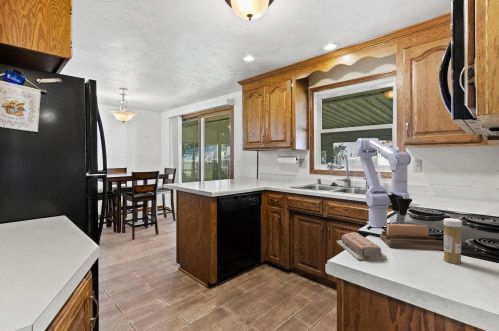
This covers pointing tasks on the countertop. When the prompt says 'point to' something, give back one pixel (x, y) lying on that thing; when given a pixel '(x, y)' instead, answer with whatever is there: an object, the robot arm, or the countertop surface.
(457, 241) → the sprinkles bottle
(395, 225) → the tile strip
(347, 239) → the packaged product
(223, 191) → the countertop surface
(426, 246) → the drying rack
